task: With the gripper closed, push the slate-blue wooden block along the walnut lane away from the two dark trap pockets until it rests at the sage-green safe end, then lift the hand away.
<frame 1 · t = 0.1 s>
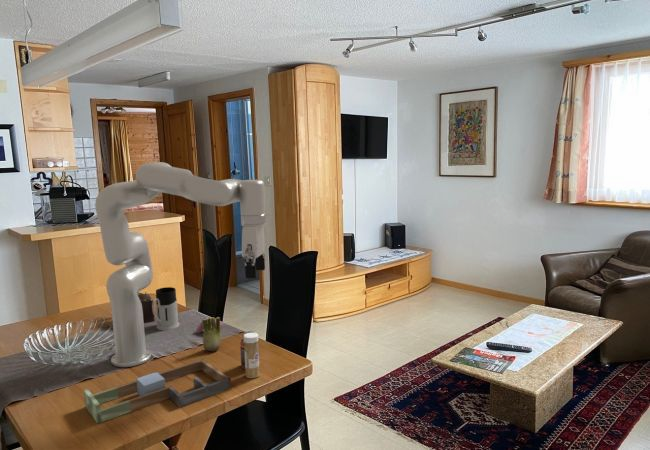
hand: (255, 273, 153), 31 cm above the table, tool pointing down, fingers open, 9 cm apart
sprinkles bottle: (252, 376, 152), on the table
supplement bottle: (250, 366, 159), on the table
fennel bulb: (212, 350, 172), on the table
brown storage container: (139, 318, 205), on the table
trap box: (155, 393, 142), on the table
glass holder: (164, 328, 193), on the table
block: (151, 394, 142), resting in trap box
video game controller: (210, 333, 187), on the table
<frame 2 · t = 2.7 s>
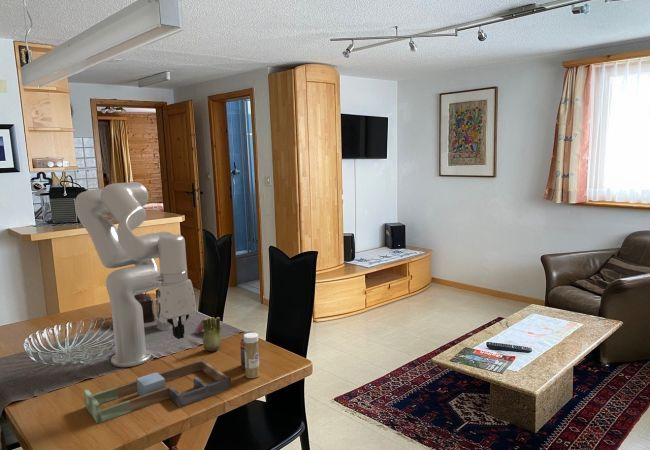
hand: (179, 337, 145), 15 cm above the table, tool pointing down, fingers closed
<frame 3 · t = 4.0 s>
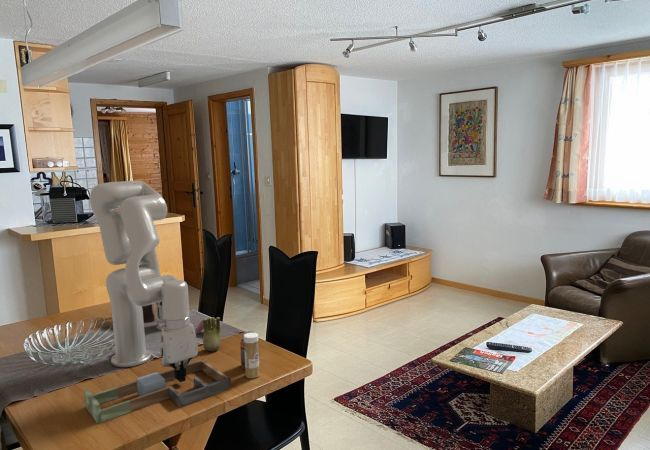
hand: (180, 379, 147), 1 cm above the table, tool pointing down, fingers closed
nothing on the table moved.
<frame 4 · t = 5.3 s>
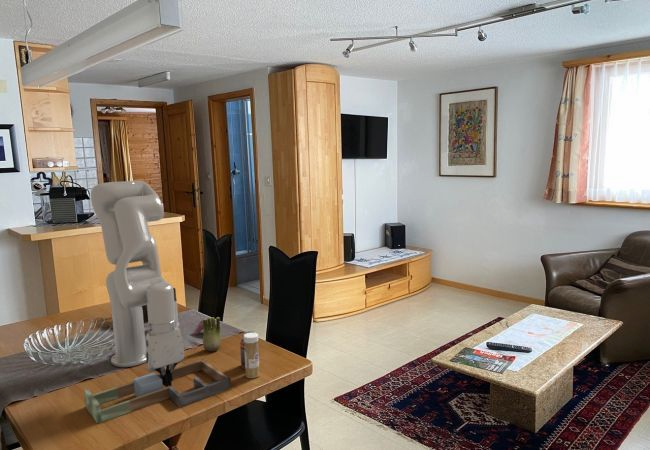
hand: (166, 384, 144), 1 cm above the table, tool pointing down, fingers closed
block: (149, 395, 141), resting in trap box, touching gripper
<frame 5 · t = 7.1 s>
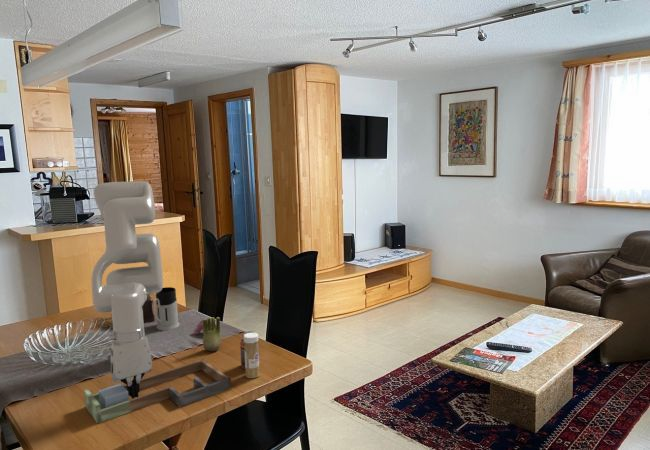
hand: (133, 396, 138), 1 cm above the table, tool pointing down, fingers closed
block: (114, 407, 135), resting in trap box, touching gripper
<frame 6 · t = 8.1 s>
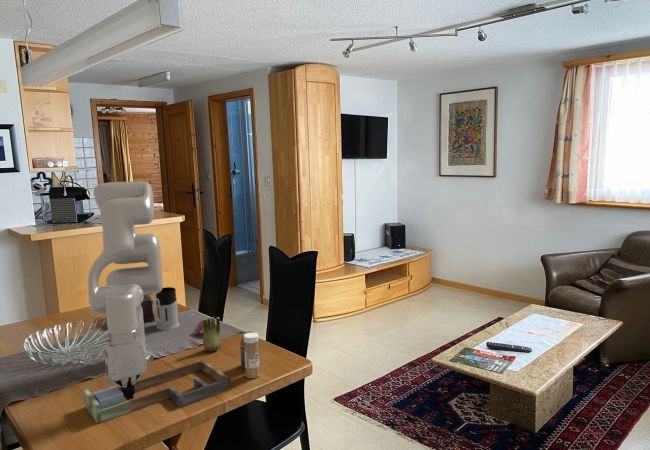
hand: (128, 397, 137), 1 cm above the table, tool pointing down, fingers closed
block: (109, 410, 134), resting in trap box, touching gripper
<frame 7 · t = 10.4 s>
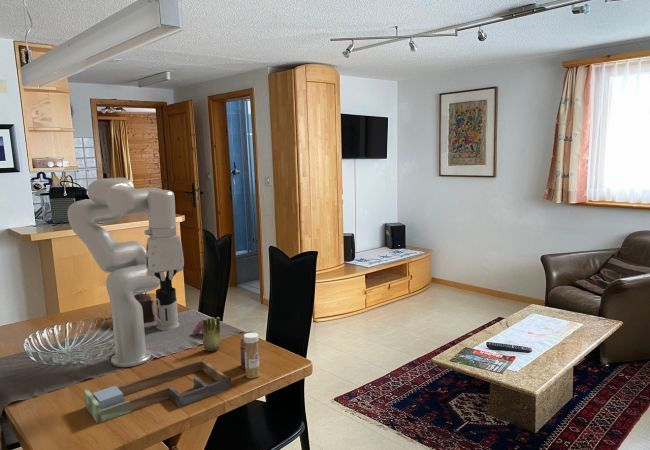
hand: (166, 292, 147), 28 cm above the table, tool pointing down, fingers closed
block: (109, 410, 134), resting in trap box
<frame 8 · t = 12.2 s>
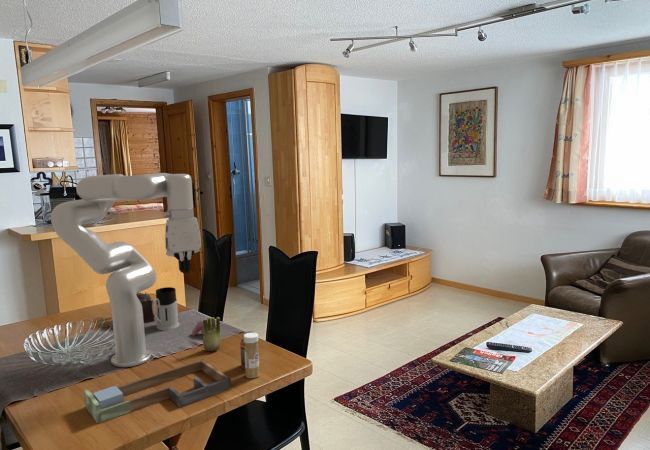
hand: (184, 272, 153), 32 cm above the table, tool pointing down, fingers closed
at the end: block inside the target area (1.6 cm from its centre), resting in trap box; block tilted 0° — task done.
